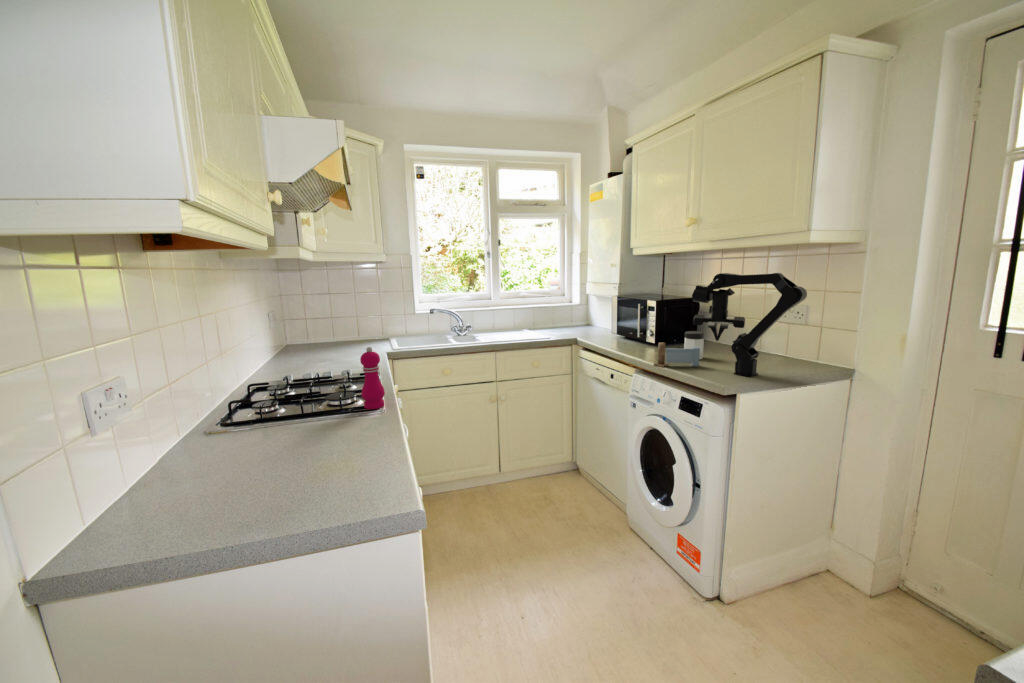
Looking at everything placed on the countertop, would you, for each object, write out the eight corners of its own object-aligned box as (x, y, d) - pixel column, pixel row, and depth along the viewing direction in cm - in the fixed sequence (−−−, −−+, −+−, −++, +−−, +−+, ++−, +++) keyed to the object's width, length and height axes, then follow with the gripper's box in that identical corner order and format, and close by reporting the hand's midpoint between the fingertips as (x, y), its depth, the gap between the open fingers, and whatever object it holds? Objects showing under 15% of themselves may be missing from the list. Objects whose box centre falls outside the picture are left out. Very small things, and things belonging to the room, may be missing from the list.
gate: (666, 365, 178) (667, 348, 177) (665, 364, 181) (666, 347, 179) (698, 366, 176) (699, 348, 175) (697, 365, 178) (698, 347, 177)
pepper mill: (373, 411, 132) (368, 349, 128) (358, 408, 135) (352, 348, 132) (390, 404, 138) (385, 345, 134) (375, 401, 141) (369, 344, 138)
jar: (683, 355, 199) (684, 330, 197) (701, 356, 196) (703, 331, 194) (684, 359, 191) (685, 333, 188) (703, 360, 188) (704, 334, 186)
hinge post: (668, 365, 179) (669, 343, 178) (662, 367, 177) (663, 344, 175) (659, 363, 183) (660, 341, 181) (653, 365, 181) (654, 342, 179)
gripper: (747, 299, 168) (744, 335, 173) (697, 297, 177) (695, 331, 183) (745, 308, 159) (742, 345, 165) (693, 305, 169) (691, 341, 174)
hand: (717, 340), depth 172 cm, fingers closed
